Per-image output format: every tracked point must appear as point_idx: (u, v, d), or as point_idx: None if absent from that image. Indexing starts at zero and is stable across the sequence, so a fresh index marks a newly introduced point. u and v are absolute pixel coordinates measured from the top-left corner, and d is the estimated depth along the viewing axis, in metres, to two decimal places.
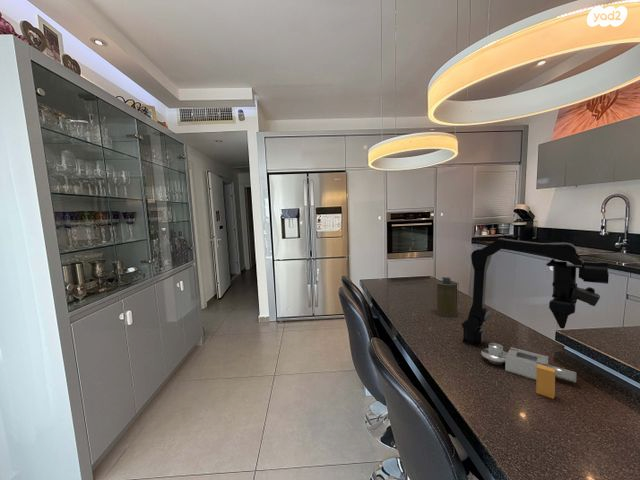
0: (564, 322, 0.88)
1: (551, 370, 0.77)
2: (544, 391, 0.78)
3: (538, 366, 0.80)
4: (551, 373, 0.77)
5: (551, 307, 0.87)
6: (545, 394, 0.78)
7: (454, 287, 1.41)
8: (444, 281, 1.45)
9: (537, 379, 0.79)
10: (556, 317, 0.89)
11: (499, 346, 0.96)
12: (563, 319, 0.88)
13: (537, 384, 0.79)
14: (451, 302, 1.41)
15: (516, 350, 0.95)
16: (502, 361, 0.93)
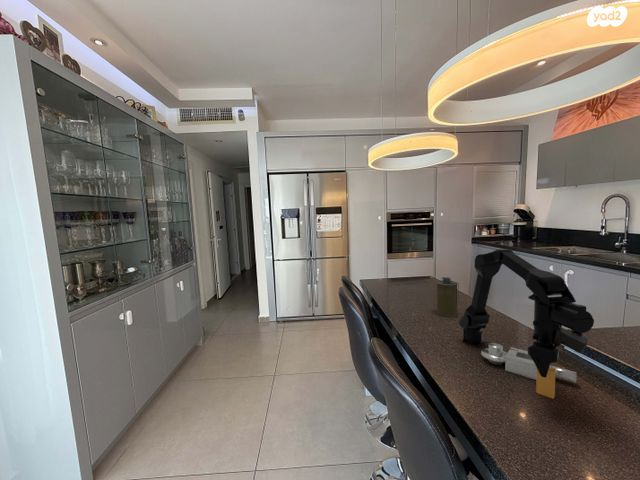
0: (546, 370, 0.74)
1: (551, 370, 0.77)
2: (544, 391, 0.78)
3: None
4: (551, 373, 0.77)
5: (530, 353, 0.73)
6: (545, 394, 0.78)
7: (454, 287, 1.41)
8: (444, 281, 1.45)
9: (537, 379, 0.79)
10: (536, 364, 0.75)
11: (499, 346, 0.96)
12: (544, 367, 0.74)
13: (537, 384, 0.79)
14: (451, 302, 1.41)
15: (516, 350, 0.95)
16: (502, 361, 0.93)
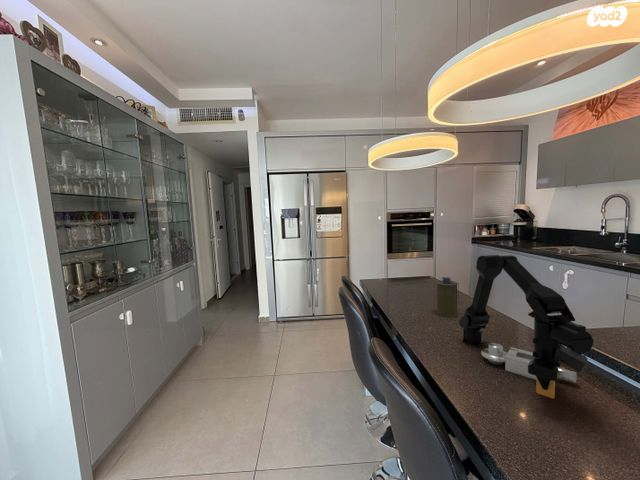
0: (547, 383, 0.77)
1: None
2: (544, 391, 0.78)
3: None
4: None
5: (530, 372, 0.74)
6: (545, 394, 0.78)
7: (454, 287, 1.41)
8: (444, 281, 1.45)
9: (537, 379, 0.79)
10: (538, 377, 0.78)
11: (499, 346, 0.96)
12: (545, 380, 0.77)
13: (537, 384, 0.79)
14: (451, 301, 1.41)
15: (516, 350, 0.95)
16: (502, 361, 0.93)
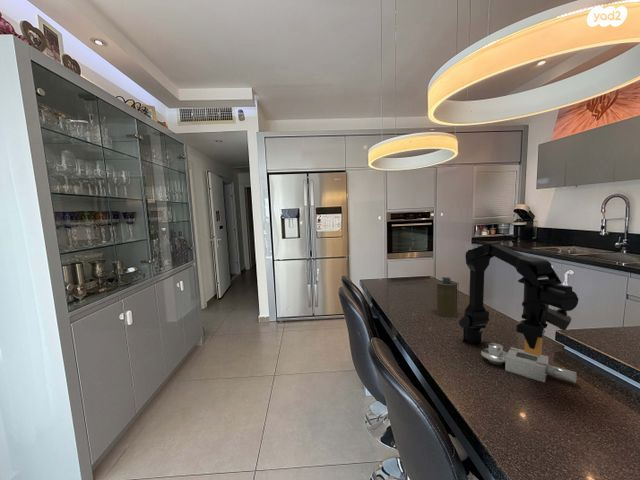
0: (534, 342, 0.83)
1: None
2: (531, 350, 0.85)
3: None
4: None
5: (518, 330, 0.80)
6: (532, 353, 0.85)
7: (454, 287, 1.41)
8: (444, 281, 1.45)
9: (525, 339, 0.86)
10: (526, 337, 0.85)
11: (499, 346, 0.96)
12: (532, 340, 0.84)
13: (525, 344, 0.86)
14: (451, 302, 1.41)
15: (516, 350, 0.95)
16: (502, 361, 0.93)
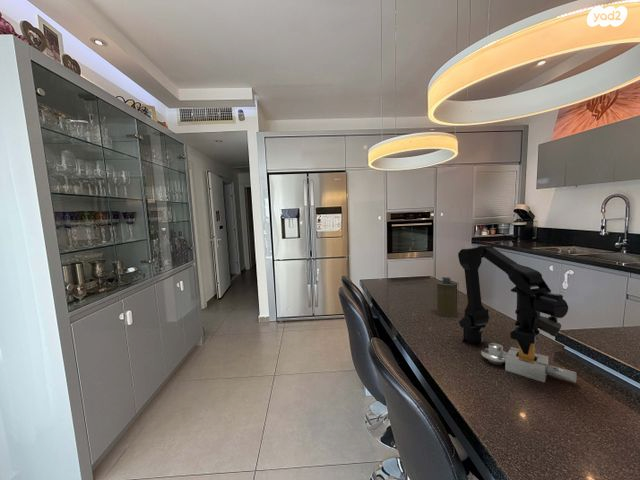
0: (527, 348, 0.89)
1: None
2: (525, 355, 0.90)
3: None
4: None
5: (512, 337, 0.85)
6: (526, 358, 0.90)
7: (454, 287, 1.41)
8: (444, 281, 1.45)
9: (519, 345, 0.91)
10: (520, 343, 0.90)
11: (499, 346, 0.96)
12: (526, 346, 0.89)
13: (519, 350, 0.91)
14: (451, 302, 1.41)
15: (516, 350, 0.95)
16: (502, 361, 0.93)
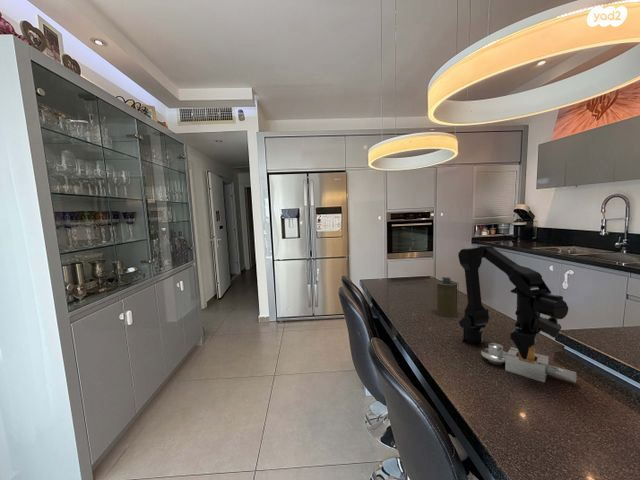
0: (526, 353, 0.86)
1: (531, 350, 0.89)
2: None
3: None
4: (531, 352, 0.89)
5: (512, 338, 0.85)
6: None
7: (454, 287, 1.41)
8: (444, 281, 1.45)
9: None
10: (518, 347, 0.88)
11: (499, 346, 0.96)
12: (524, 350, 0.87)
13: None
14: (451, 302, 1.41)
15: (516, 350, 0.95)
16: (502, 361, 0.93)
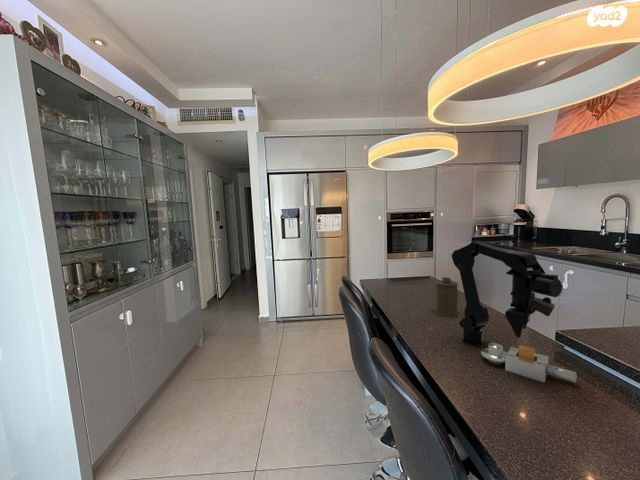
0: (520, 331, 0.89)
1: (531, 350, 0.89)
2: None
3: (520, 346, 0.92)
4: (531, 352, 0.89)
5: (506, 316, 0.89)
6: None
7: (454, 287, 1.41)
8: (444, 281, 1.45)
9: None
10: (512, 326, 0.91)
11: (499, 346, 0.96)
12: (518, 329, 0.90)
13: None
14: (451, 302, 1.41)
15: (516, 350, 0.95)
16: (502, 361, 0.93)
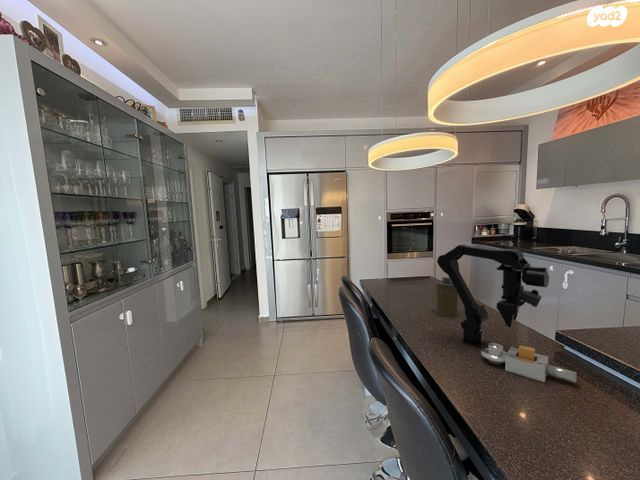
0: (510, 321, 0.97)
1: (531, 350, 0.89)
2: None
3: (520, 346, 0.92)
4: (531, 352, 0.89)
5: (498, 308, 0.96)
6: None
7: (454, 287, 1.41)
8: (444, 281, 1.45)
9: None
10: (503, 317, 0.98)
11: (499, 346, 0.96)
12: (509, 319, 0.97)
13: None
14: (451, 302, 1.41)
15: (516, 350, 0.95)
16: (502, 361, 0.93)
